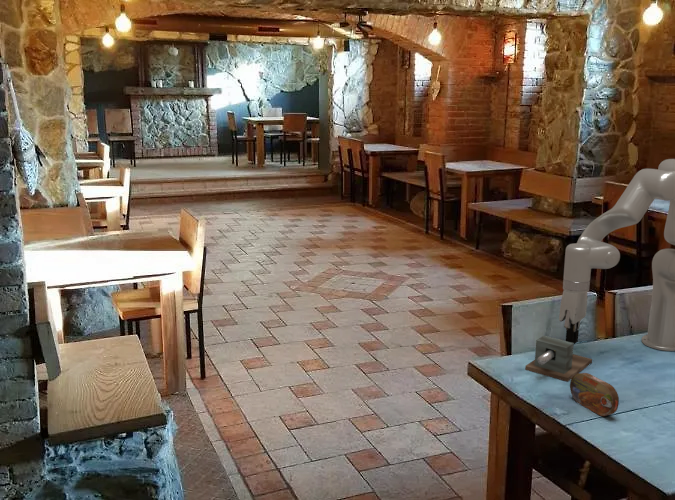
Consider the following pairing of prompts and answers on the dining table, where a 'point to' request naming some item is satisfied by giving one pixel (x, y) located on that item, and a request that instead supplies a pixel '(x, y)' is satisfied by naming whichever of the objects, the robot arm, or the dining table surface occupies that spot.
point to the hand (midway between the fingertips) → (571, 341)
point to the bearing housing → (557, 359)
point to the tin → (594, 394)
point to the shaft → (546, 356)
